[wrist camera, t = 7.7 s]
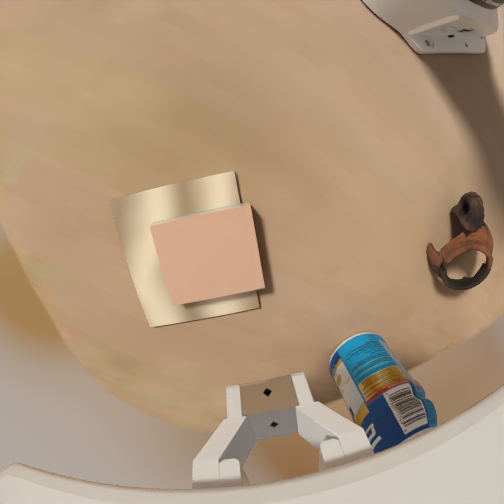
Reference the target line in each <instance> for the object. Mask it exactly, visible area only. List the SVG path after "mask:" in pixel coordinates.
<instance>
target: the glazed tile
mask: <svg viewBox="0 0 504 504" xmlns="http://www.w3.org/2000/svg"><path fill="white" fill-rule="evenodd" d="M150 230H151V234H152V237H153V241H154V245H155V248H156V252H157V255H158V259H159V262H160V265H161V269H162V272H163V275H164V279H165V282H166V285H167V288H168V291H169V294H170V297H171V301H172V304H173V306H174V305H180V304H185V303H191V302H196V301H201V300H207V299H212V298H217V297H222V296H227V295H232V294H237V293H242V292H247V291H252V290H257V289H262V288H265V285H264V279H263V273H262V268H261V262H260V256H259V250H258V245H257V239H256V233H255V227H254V222H253V216H252V210H251V205H250V203H249V202H246V203H241V204H236V205H231V206H226V207H221V208H216V209H211V210H206V211H202V212H197V213H192V214H188V215H183V216H179V217H174V218H170V219H165V220H161V221H157V222H153V223H152V224H151V226H150Z"/></svg>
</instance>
